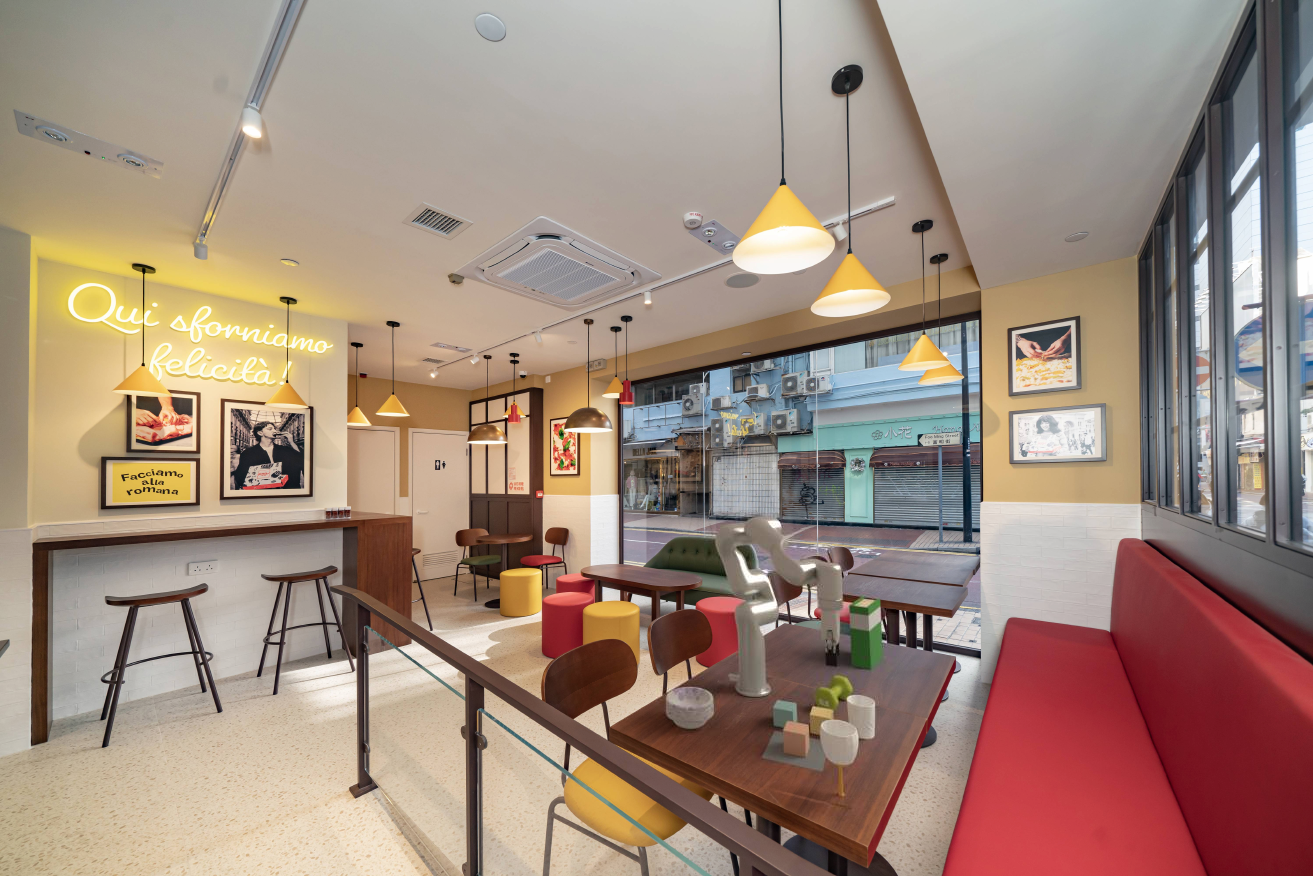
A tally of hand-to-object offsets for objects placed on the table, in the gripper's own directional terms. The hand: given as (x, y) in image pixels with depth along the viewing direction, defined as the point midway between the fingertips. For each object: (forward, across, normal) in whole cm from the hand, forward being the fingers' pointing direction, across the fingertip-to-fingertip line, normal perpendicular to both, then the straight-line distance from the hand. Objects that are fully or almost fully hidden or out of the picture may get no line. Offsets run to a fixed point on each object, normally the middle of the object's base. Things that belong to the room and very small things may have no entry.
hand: (832, 660), depth 156 cm
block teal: (+20, +3, -15) cm, 25 cm away
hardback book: (+20, -63, +8) cm, 67 cm away
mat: (+20, +17, -9) cm, 28 cm away
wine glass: (+21, +33, +4) cm, 39 cm away
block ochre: (+21, +3, -4) cm, 21 cm away
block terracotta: (+20, +17, -9) cm, 28 cm away
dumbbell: (+21, -18, -2) cm, 27 cm away
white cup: (+21, +1, +7) cm, 22 cm away
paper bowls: (+20, +12, -43) cm, 49 cm away
